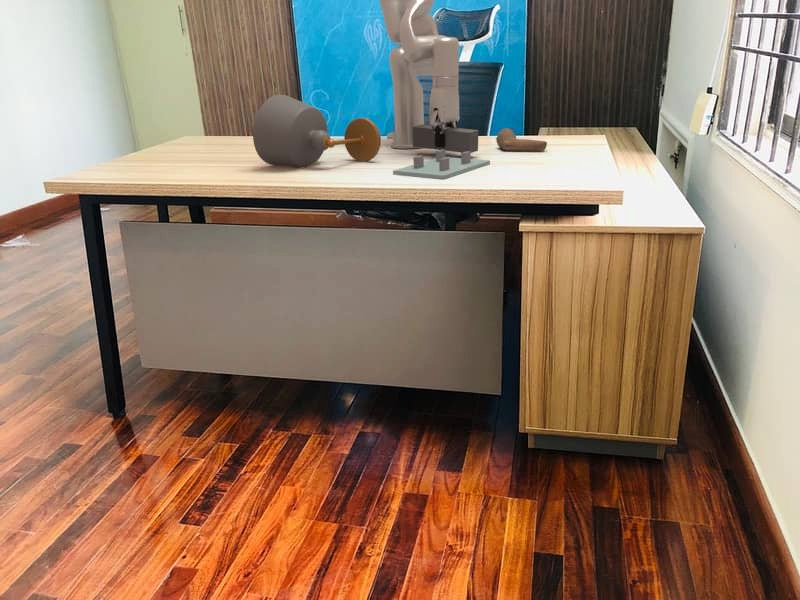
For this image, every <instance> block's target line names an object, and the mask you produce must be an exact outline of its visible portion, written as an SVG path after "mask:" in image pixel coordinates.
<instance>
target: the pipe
mask: <svg viewBox="0 0 800 600" xmlns="http://www.w3.org/2000/svg"><path fill="white" fill-rule="evenodd" d="M495 138H496V139H495V141H496V144H497V146H498V147H499V148H501V150H503V151H505V152H524V153H525V152H526V153H527V152H528V153H530V152H531V153H543V152H544V151H545V150H546V149H547V145H548V142H547V141H545V140H537V139H526V138H517V136H516V134H515V132H514V130H513V129H511V128H507V127H504V128H503V129H500V131H499V132H498V133H497V137H495ZM542 151H543V152H542Z"/></svg>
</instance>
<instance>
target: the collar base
mask: <svg viewBox="0 0 800 600" xmlns="http://www.w3.org/2000/svg"><path fill="white" fill-rule="evenodd" d="M471 154H472V153H471V152H470V151H466V152H463V153H460V155H461V157H452V156H446V151H445V150H435V158H432V159H429V160H426V161H424V155H417V156H414V157H413V164H412V165H409V166H405V167H401V168H397V169H394V170H392V175H395V174H397V175H398V176H407V177H414V178H415V177H417V178H427V179H437V180H446V179H448V178H453V177H455V176H459V175H461V174H464V173H467V172H470V171H473V170H476V169H480V168H482V167H486V166H488V165H490V164H491V160H489V159H474V158H471V156H472V155H471ZM397 175H396V176H397Z"/></svg>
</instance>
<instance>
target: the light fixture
mask: <svg viewBox="0 0 800 600" xmlns="http://www.w3.org/2000/svg"><path fill="white" fill-rule="evenodd" d="M252 128H253V129H252V138H253V139H252V140H253V146H254V148H255V151H256V153H257V156H258V157H259V158H260V159H261V160H262V161H263V162H265V163H266V164H268V165H270V166H271V165H272V166H280V165H281V166H282V167H291V168H292V167H293V168H303V167H304V168H309V167H311V166H313V165H314V164H316V163H317V162H318V161H319V160H320V159H321V157H322V155H323V153H324V151H326V150H328V149H332V148H334V147H335V146H338V145H344V146H345V149H346V152H347V153H348V154H349V156H350V157H351V158H352V159H354V160H355V161H358V162H361V161H364V162H369V161H371V160H373V159H375V158H376V156H377V155H378V153H379V151H380V149H381V144H382V143H381V142H382V139H381V132H380V130H379V128H378V127H377V124H376V123H374V122H373V120H370V118H366V117H358V118H354V119H353V120H351V121H350V122H349V123H348V125H347V126H346V129H345V131H344V136H343V137H344V139H338V140H334V139H333V138H331V136H330V134H329V131H328V124H327V120H326V118H325V116H324V113H322V111H321V110H320V109H319V108H317V107H315V106H312V105H309V104H308V103H305V102H303V101H300V100H299V99H295V98H294V97H291V96H289V95H286V94H280V93H279V94H274V95H272V96H269V98H267V99H266V100H265V101H264V102H263V103H262V105H260V108H259V109H258V111H257V113H256V115H255V119H254V123H253V127H252ZM281 166H280V167H281ZM308 166H309V167H308ZM304 168H303V169H304Z"/></svg>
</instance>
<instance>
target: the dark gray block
mask: <svg viewBox="0 0 800 600" xmlns="http://www.w3.org/2000/svg"><path fill="white" fill-rule="evenodd" d="M439 127H440V128H441V125H439ZM443 134H445V147H444V148H441V147H435V133H434V130H433V128H432V127H431V125H430V124H424V125H418V126H414V127H413V147H419V148H418V149H429V150H435V151H438V150H445V152H452V153H453V152H455V153H460V154H461V153H463V152H466V151H470V152H471V154H473V153H476V152H478V151H479V130H478V129H472V128H471V129H469V128H462V127H461V128H460V127H456V128H452V127H446V126H445V127H444V133H443Z"/></svg>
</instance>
